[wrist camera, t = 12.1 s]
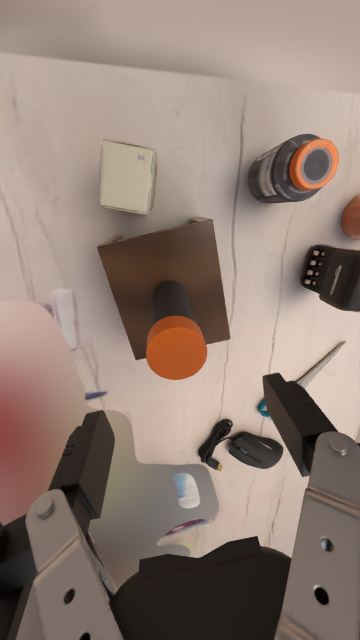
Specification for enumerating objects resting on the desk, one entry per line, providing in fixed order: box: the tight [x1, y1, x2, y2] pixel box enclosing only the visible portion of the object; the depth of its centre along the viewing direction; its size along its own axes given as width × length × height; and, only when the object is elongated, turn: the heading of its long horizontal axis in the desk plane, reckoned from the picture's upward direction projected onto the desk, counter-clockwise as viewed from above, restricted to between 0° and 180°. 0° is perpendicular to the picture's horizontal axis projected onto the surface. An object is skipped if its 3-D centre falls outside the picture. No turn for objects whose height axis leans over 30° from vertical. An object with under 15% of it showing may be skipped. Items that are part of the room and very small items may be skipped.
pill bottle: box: [248, 134, 339, 203], centre depth 28 cm, size 6×6×11 cm
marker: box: [146, 281, 207, 380], centre depth 23 cm, size 4×4×12 cm
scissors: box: [258, 341, 346, 417], centre depth 47 cm, size 7×1×20 cm
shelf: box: [97, 217, 230, 360], centre depth 33 cm, size 14×12×10 cm
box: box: [100, 139, 157, 215], centre depth 26 cm, size 5×4×13 cm
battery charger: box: [301, 244, 360, 312], centre depth 33 cm, size 7×4×11 cm, turn 175°
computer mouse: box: [198, 420, 283, 472], centre depth 52 cm, size 12×17×4 cm
